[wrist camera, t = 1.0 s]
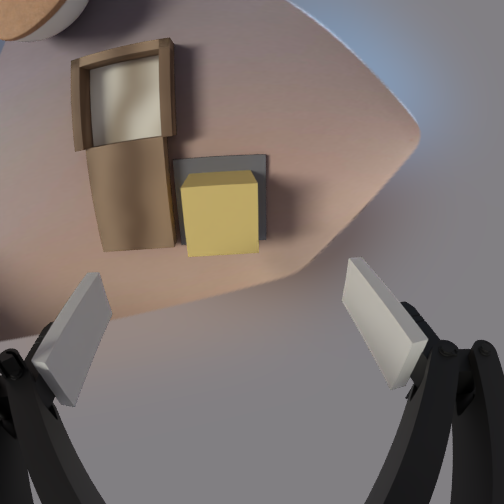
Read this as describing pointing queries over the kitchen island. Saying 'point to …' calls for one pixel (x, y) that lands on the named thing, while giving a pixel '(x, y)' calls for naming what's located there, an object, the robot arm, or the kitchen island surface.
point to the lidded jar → (37, 18)
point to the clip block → (220, 213)
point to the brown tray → (128, 152)
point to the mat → (218, 165)
